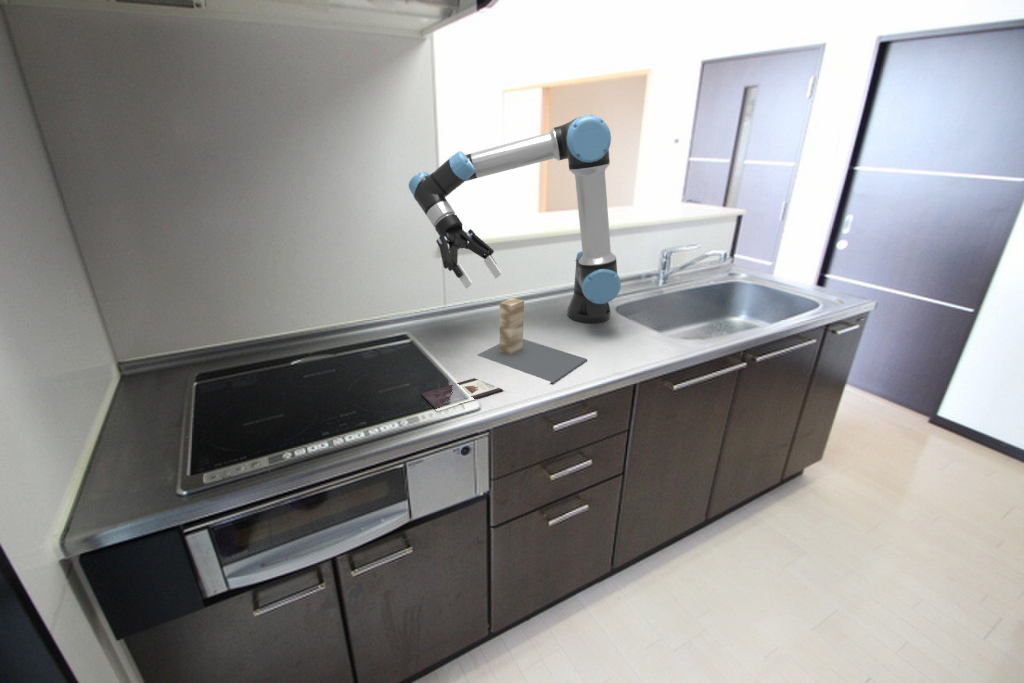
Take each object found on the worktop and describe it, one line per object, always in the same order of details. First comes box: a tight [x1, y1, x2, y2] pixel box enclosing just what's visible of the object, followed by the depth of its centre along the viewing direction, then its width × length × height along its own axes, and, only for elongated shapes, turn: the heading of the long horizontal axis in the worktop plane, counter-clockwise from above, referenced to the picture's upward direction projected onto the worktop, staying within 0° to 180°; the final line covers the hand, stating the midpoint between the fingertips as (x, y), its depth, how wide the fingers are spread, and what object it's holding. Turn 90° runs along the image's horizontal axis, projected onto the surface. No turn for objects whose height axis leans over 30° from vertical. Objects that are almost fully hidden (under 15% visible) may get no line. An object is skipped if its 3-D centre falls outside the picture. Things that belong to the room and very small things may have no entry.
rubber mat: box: [477, 338, 588, 385], centre depth 137 cm, size 26×18×1 cm
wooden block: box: [499, 297, 525, 355], centre depth 137 cm, size 4×6×15 cm, turn 143°
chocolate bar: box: [420, 377, 504, 410], centre depth 118 cm, size 9×1×18 cm
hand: (484, 280), depth 138 cm, fingers open, 13 cm apart
